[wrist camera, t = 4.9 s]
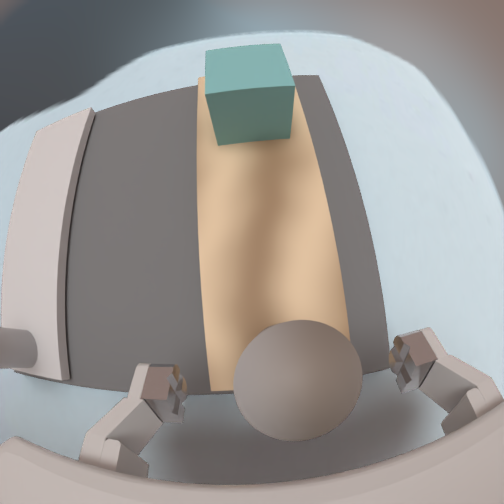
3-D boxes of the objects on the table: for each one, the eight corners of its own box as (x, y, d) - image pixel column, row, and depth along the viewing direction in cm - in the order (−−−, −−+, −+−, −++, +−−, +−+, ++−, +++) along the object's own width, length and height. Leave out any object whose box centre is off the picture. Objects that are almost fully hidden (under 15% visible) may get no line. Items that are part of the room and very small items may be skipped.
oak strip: (214, 387, 15) (147, 458, 5) (200, 85, 21) (177, -7, 12) (348, 371, 15) (444, 414, 5) (288, 76, 21) (293, -18, 12)
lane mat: (21, 371, 16) (14, 371, 15) (48, 138, 23) (43, 134, 22) (384, 366, 16) (390, 367, 15) (317, 82, 22) (318, 75, 22)
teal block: (217, 145, 18) (204, 94, 13) (216, 99, 19) (205, 50, 15) (290, 138, 18) (295, 85, 13) (278, 92, 19) (280, 43, 14)
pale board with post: (11, 366, 15) (-75, 363, 6) (41, 136, 22) (-7, 83, 12) (70, 379, 15) (-38, 390, 5) (95, 113, 21) (49, 44, 12)
